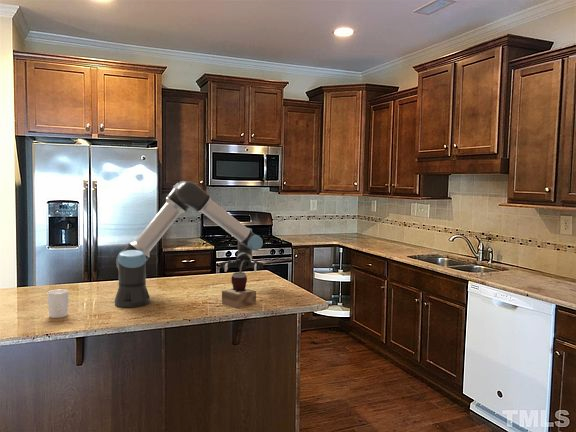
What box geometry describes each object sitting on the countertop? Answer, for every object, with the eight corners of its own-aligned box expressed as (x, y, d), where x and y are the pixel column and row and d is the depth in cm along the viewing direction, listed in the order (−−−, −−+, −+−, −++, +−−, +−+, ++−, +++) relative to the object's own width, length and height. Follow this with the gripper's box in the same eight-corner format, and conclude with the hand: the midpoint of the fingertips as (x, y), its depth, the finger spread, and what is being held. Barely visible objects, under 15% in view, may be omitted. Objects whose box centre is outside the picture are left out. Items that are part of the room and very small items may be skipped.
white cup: (72, 313, 193) (72, 289, 192) (64, 318, 185) (63, 293, 184) (53, 312, 193) (52, 289, 192) (44, 318, 185) (43, 293, 184)
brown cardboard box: (237, 308, 204) (237, 294, 204) (221, 303, 211) (221, 290, 211) (256, 304, 212) (256, 290, 212) (240, 299, 220) (240, 286, 219)
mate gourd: (235, 288, 216) (235, 256, 215) (251, 289, 214) (251, 257, 212) (228, 291, 209) (228, 258, 208) (244, 293, 207) (244, 259, 205)
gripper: (268, 268, 235) (267, 277, 213) (218, 268, 234) (213, 276, 213) (268, 253, 234) (267, 261, 213) (218, 253, 233) (213, 260, 212)
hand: (240, 268), depth 213 cm, fingers open, 13 cm apart
